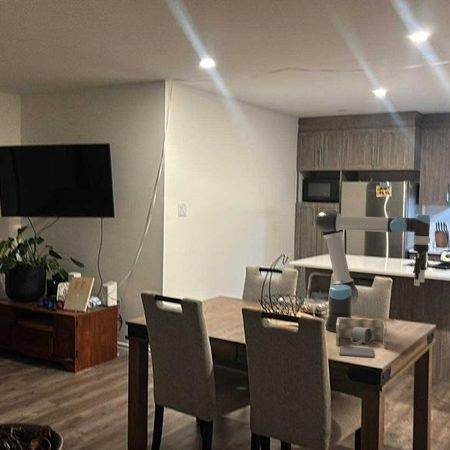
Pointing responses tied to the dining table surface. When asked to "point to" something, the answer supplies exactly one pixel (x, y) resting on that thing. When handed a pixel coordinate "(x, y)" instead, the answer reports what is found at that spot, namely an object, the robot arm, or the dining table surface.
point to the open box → (347, 325)
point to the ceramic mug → (361, 335)
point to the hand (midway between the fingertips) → (419, 283)
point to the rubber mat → (356, 351)
